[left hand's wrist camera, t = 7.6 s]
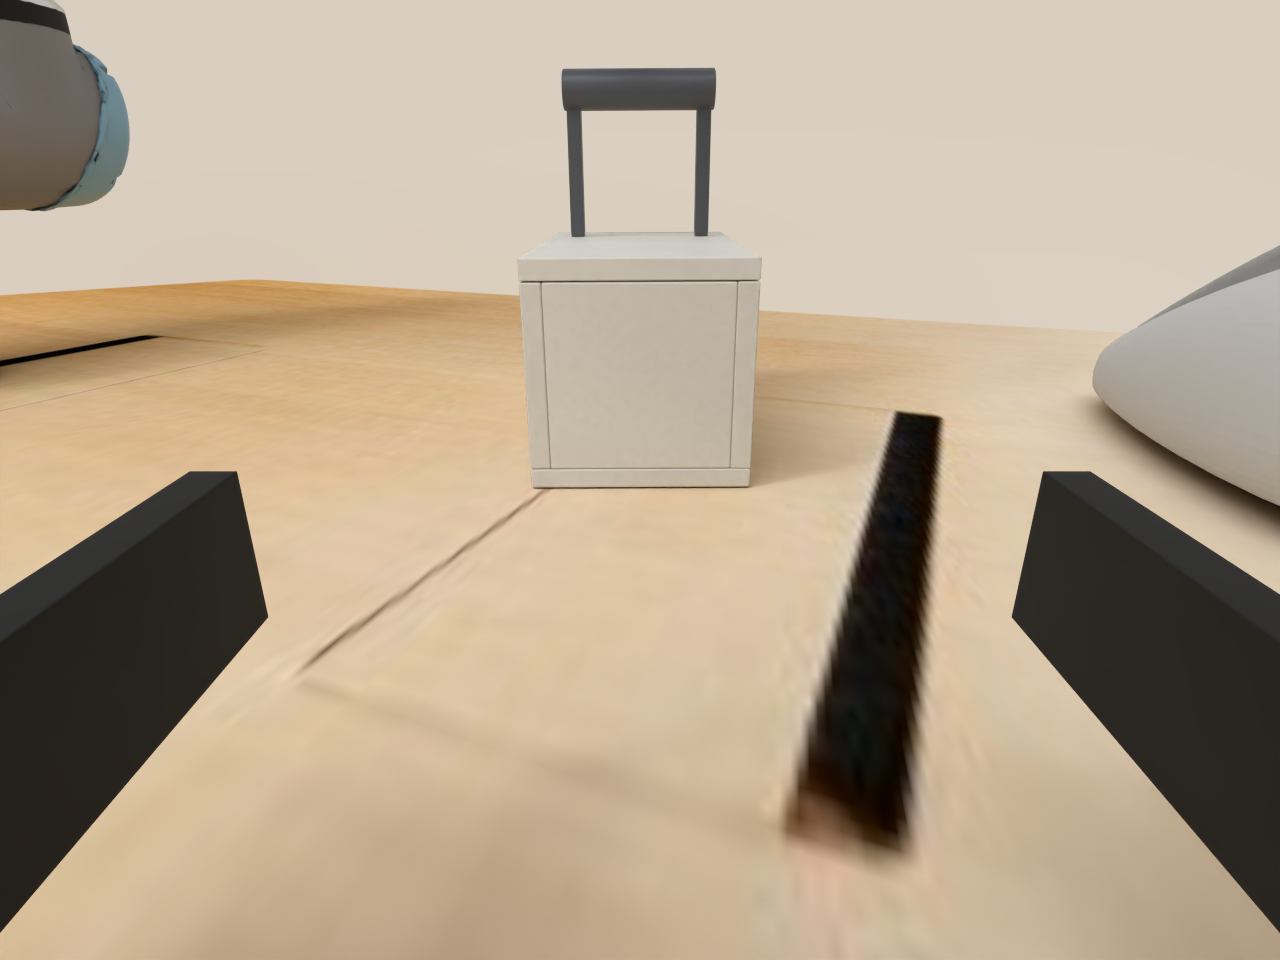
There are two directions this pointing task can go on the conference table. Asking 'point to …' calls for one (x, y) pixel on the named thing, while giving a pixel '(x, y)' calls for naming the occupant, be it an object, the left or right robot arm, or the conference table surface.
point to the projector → (1208, 377)
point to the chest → (640, 381)
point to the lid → (639, 250)
